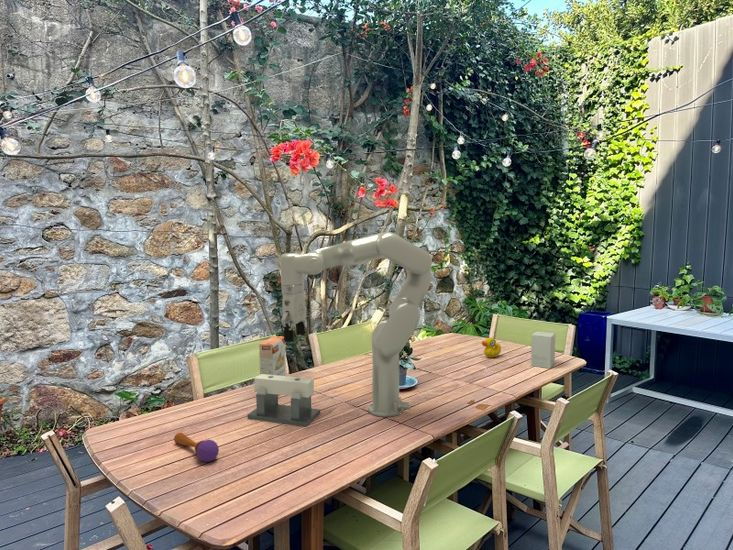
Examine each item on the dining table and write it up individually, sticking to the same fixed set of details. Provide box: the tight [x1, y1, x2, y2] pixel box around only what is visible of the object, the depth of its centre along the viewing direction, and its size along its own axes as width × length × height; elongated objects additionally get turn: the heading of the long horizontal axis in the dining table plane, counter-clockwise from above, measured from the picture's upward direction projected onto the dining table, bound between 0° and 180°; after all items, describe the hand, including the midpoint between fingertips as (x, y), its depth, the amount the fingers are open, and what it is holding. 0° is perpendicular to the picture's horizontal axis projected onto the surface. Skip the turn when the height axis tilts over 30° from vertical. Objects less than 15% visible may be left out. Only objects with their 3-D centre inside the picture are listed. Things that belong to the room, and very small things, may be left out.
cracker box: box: [259, 335, 286, 376], centre depth 206 cm, size 14×6×21 cm, turn 168°
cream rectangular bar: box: [253, 373, 315, 398], centre depth 180 cm, size 20×5×5 cm, turn 74°
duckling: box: [481, 337, 502, 359], centre depth 256 cm, size 11×5×10 cm, turn 118°
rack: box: [246, 388, 321, 428], centre depth 181 cm, size 22×12×10 cm, turn 72°
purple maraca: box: [173, 432, 220, 463], centre depth 153 cm, size 6×6×20 cm
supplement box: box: [530, 330, 556, 369], centre depth 243 cm, size 9×9×15 cm
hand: (295, 338), depth 180 cm, fingers open, 9 cm apart
